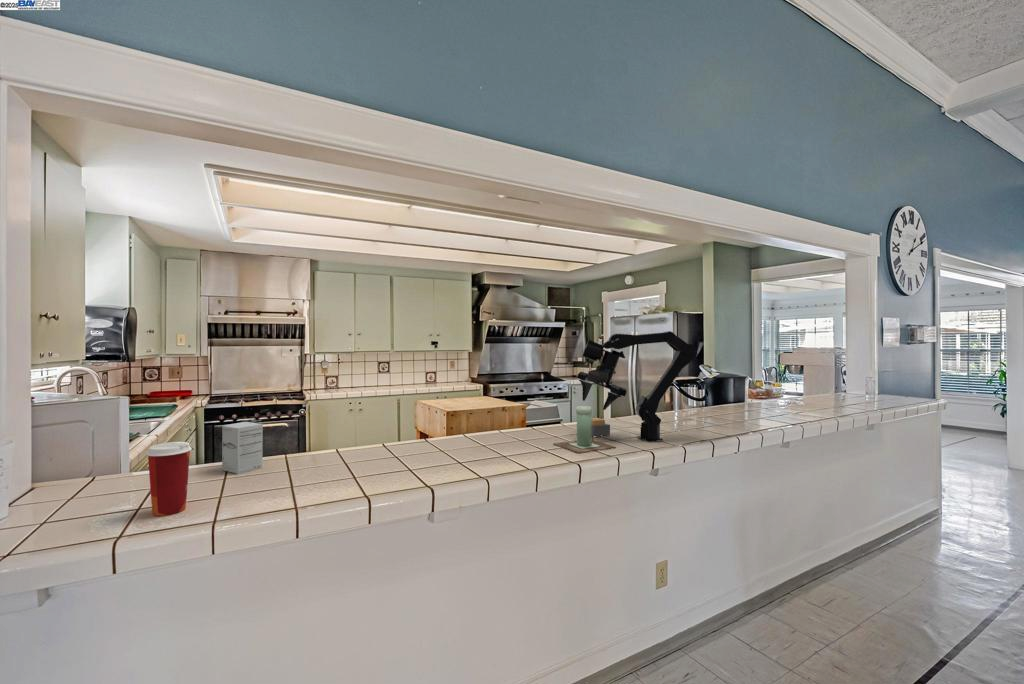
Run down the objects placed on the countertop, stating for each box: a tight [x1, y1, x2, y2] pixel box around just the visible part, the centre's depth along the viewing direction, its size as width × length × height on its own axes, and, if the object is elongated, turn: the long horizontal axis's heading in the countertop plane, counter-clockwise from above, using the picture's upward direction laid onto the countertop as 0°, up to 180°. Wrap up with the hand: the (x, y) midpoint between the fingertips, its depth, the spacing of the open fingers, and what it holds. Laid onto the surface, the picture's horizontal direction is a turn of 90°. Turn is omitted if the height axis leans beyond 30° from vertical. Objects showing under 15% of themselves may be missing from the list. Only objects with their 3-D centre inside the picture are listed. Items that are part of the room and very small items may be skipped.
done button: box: [591, 417, 606, 426], centre depth 174 cm, size 5×5×2 cm
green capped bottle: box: [575, 405, 593, 446], centre depth 154 cm, size 5×5×13 cm
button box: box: [591, 423, 611, 437], centre depth 174 cm, size 8×8×4 cm
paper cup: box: [145, 441, 193, 517], centre depth 95 cm, size 8×8×14 cm
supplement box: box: [221, 421, 264, 475], centre depth 125 cm, size 7×7×13 cm
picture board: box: [553, 439, 617, 454], centre depth 154 cm, size 16×14×1 cm
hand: (593, 405), depth 167 cm, fingers open, 9 cm apart
